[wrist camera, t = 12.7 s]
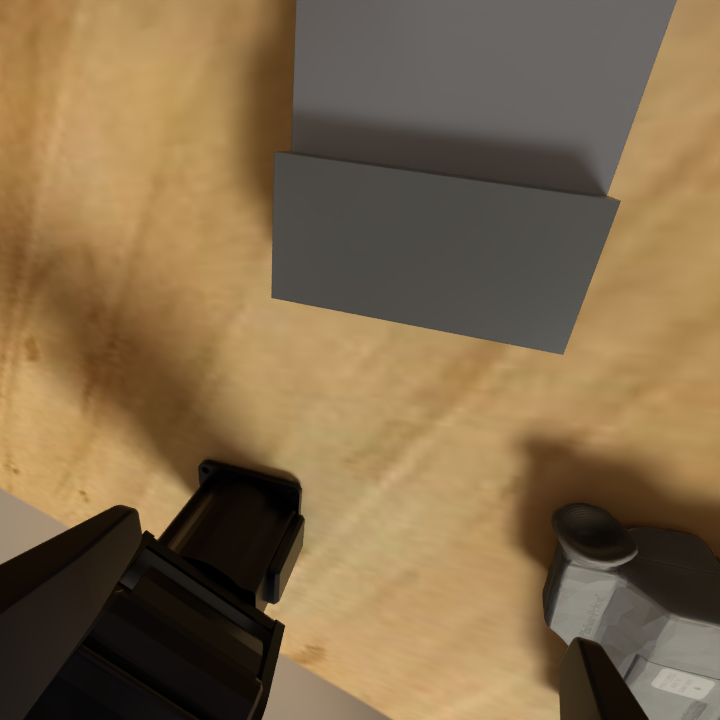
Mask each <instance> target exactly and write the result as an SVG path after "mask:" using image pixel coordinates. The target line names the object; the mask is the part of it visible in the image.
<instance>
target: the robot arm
mask: <svg viewBox="0 0 720 720" xmlns="http://www.w3.org/2000/svg"><path fill="white" fill-rule="evenodd" d="M198 470H199V483H200V487H199V488H198V489H197V491H196V492H195V493H194V495H193V496H192V497H191V498H190V500H189V501H188V502H187V503H186V505H185V506H184V507H183V508H182V510H181V511H180V512H179V513H178V515H177V516H176V517H175V518H174V520H173V521H172V522H171V523H170V525H169V526H168V527H167V529H166V530H165V531H164V532H163V534H162V535H161V536H160V537H159V539H158V540H156V539H155V538H154V537H155V536H154V535H153V534H151V533H150V532H148V531H147V530H146V531H145V532H144V533H143V534H142V531H141V525H140V520H139V514H138V511H137V510H136V509H134V508H131V507H128V506H124V505H116V506H114V507H111V508H110V509H108V510H106V511H104V512H102V513H100V514H98V515H96V516H94V517H92V518H90V519H88V520H86V521H84V522H82V523H80V524H78V525H76V526H74V527H73V528H71V529H69V530H67V531H65V532H63V533H61V534H59V535H57V536H55V537H53V538H51V539H49V540H48V541H45V542H44V543H42V544H39V545H38V546H36V547H34V548H32V549H30V550H28V551H26V552H24V553H22V554H20V555H18V556H16V557H14V558H12V559H10V560H8V561H7V562H5V563H2V564H1V565H0V720H261V719H262V717H263V714H264V711H265V708H266V705H267V701H268V697H269V693H270V689H271V684H272V680H273V676H274V671H275V667H276V663H277V659H278V654H279V650H280V646H281V641H282V637H283V633H284V628H285V625H284V624H282V623H281V622H279V621H278V620H277V619H276V620H273V619H272V618H270V617H269V616H267V615H266V614H264V610H265V608H266V606H267V604H268V603H271V604H276V603H277V602H279V601H280V598H281V596H282V594H283V591H284V589H285V587H286V584H287V582H288V579H289V577H290V575H291V572H292V570H293V568H294V565H295V563H296V561H297V558H298V556H299V553H300V551H301V549H302V546H303V535H304V522H305V519H304V517H303V515H300V513H301V498H302V488H301V486H300V485H299V484H298V483H295V482H292V481H288V480H284V479H280V478H277V477H273V476H269V475H265V474H261V473H257V472H254V471H250V470H246V469H242V468H238V467H234V466H230V465H227V464H223V463H219V462H215V461H211V460H204V461H203V462H202V463H201V464H200V465H199V468H198ZM292 490H293V491H292ZM559 698H560V720H649V718H648V717H647V715H646V714H645V712H644V710H643V709H642V707H641V706H640V704H639V703H638V701H637V700H636V698H635V696H634V695H633V693H632V692H631V690H630V689H629V687H628V686H627V684H626V682H625V681H624V679H623V678H622V676H621V675H620V673H619V672H618V670H617V668H616V667H615V665H614V664H613V662H612V661H611V659H610V657H609V656H608V654H607V653H606V651H605V650H604V648H603V647H602V646H601V645H600V644H599V643H597V642H596V641H592V640H589V639H585V638H582V637H575V638H573V640H572V641H571V643H570V645H569V646H568V648H567V650H566V651H565V653H564V655H563V656H562V658H561V660H560V664H559Z"/></svg>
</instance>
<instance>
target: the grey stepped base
mask: <svg viewBox="0 0 720 720" xmlns="http://www.w3.org/2000/svg"><path fill="white" fill-rule="evenodd" d="M676 1H677V0H296V29H295V57H294V85H293V113H292V141H291V151H285V152H274V192H273V245H272V297H271V298H275V299H280V300H285V301H290V302H295V303H300V304H305V305H311V306H316V307H321V308H326V309H331V310H336V311H341V312H346V313H352V314H357V315H362V316H367V317H372V318H377V319H382V320H387V321H393V322H398V323H403V324H408V325H413V326H418V327H423V328H428V329H434V330H439V331H444V332H449V333H454V334H459V335H464V336H470V337H475V338H480V339H485V340H490V341H495V342H500V343H505V344H511V345H516V346H521V347H526V348H531V349H536V350H541V351H546V352H552V353H557V354H562V355H563V354H564V351H565V348H566V346H567V343H568V340H569V338H570V335H571V332H572V330H573V327H574V324H575V322H576V319H577V316H578V314H579V311H580V308H581V306H582V303H583V300H584V298H585V295H586V292H587V290H588V287H589V284H590V282H591V279H592V276H593V274H594V271H595V268H596V266H597V263H598V260H599V258H600V255H601V252H602V250H603V247H604V244H605V242H606V239H607V236H608V234H609V231H610V228H611V226H612V223H613V220H614V218H615V215H616V212H617V210H618V207H619V204H620V202H621V201H619V200H617V199H614V198H612V197H609V196H607V193H608V191H609V188H610V185H611V182H612V179H613V177H614V174H615V171H616V168H617V165H618V163H619V160H620V157H621V154H622V151H623V149H624V146H625V143H626V140H627V138H628V135H629V132H630V129H631V126H632V124H633V121H634V118H635V115H636V112H637V110H638V107H639V104H640V101H641V98H642V96H643V93H644V90H645V87H646V84H647V82H648V79H649V76H650V73H651V70H652V68H653V65H654V62H655V59H656V57H657V54H658V51H659V48H660V45H661V43H662V40H663V37H664V34H665V31H666V29H667V26H668V23H669V20H670V17H671V15H672V12H673V9H674V6H675V3H676Z"/></svg>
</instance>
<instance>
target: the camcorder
mask: <svg viewBox="0 0 720 720" xmlns="http://www.w3.org/2000/svg"><path fill="white" fill-rule="evenodd" d="M552 526H553V529H554V531H555V533H556V535H557V537H558V539H559V541H558V544H557V548H556V551H555V555H554V558H553V561H552V563H551V565H550V567H549V572H548V576H547V579H546V583H545V586H544V589H543V595H542V596H543V608H544V617H545V621H546V624H547V626H548V627H549V628H551V629H552V630H553V631H554V632H556V633H557V634H558V635H559V636H560V637H561V638H562V639H563V640H564V642H565V643H566V644H567V645H568V646H569V645H570V643H571V641H572V640H573V638H575V637H582V638H585V639H589V640H592V641H596V642H597V643H599V644H600V645H601V646H602V647H603V648H604V650H605V651H606V653H607V654H608V656H609V657H610V659H611V661H612V662H613V664H614V665H615V667H616V668H617V670H618V672H619V673H620V675H621V676H622V678H623V679H624V681H625V682H626V684H627V686H628V687H629V689H630V690H631V692H632V693H633V695H634V696H635V698H636V700H637V701H638V703H639V704H640V706H641V707H642V709H643V710H644V712H645V714H646V715H647V717H648V718H649V720H720V562H718V561H717V560H716V559H715V557H714V555H713V553H712V551H711V549H710V548H709V547H708V545H707V544H706V543H705V542H704V541H703V540H702V539H700V538H699V537H698V536H695V535H692V534H687V533H682V532H676V531H670V530H664V529H658V528H652V527H636V528H631V529H628V530H627V529H626V528H625V527H624V526H623V525H622V524H621V523H620V522H618V521H617V520H616V519H615V518H614V517H613V516H612V515H611V514H610V513H609V512H607V511H606V510H604V509H602V508H599V507H596V506H592V505H589V504H585V503H571V504H567V505H565V506H563V507H561V508H559V509H557V510H556V511H555V512H554V513H553V515H552Z"/></svg>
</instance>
